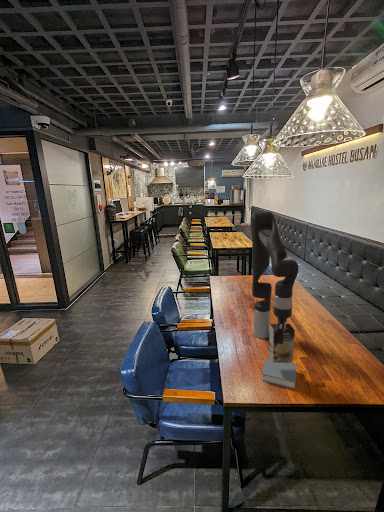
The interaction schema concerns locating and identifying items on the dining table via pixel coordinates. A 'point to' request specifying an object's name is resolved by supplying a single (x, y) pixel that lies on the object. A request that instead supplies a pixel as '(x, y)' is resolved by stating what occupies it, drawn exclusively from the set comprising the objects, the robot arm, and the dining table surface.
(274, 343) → the coffee box
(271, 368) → the book
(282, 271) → the robot arm
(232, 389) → the dining table surface
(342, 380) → the dining table surface
